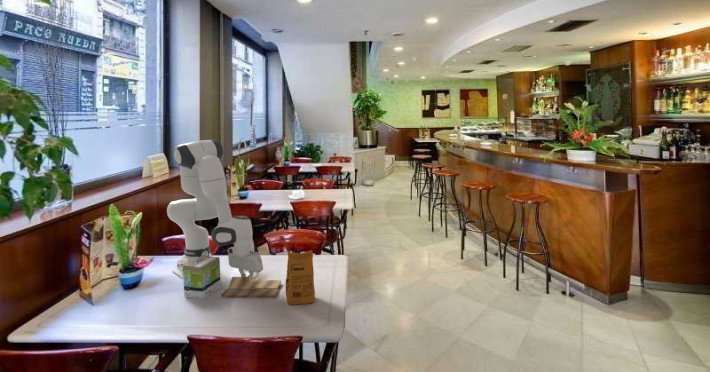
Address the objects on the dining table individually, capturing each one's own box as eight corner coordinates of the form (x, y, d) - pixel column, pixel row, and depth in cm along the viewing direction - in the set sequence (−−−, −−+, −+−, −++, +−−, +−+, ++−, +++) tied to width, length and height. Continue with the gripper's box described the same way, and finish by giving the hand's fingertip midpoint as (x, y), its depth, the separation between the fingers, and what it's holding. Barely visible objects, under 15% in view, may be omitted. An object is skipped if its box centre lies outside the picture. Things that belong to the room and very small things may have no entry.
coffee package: (285, 297, 186) (284, 249, 183) (313, 294, 189) (312, 247, 185) (286, 306, 177) (284, 256, 173) (315, 304, 179) (314, 254, 175)
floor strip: (221, 297, 186) (220, 295, 186) (226, 291, 193) (226, 288, 193) (274, 297, 185) (274, 295, 185) (278, 291, 192) (278, 289, 192)
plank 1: (228, 290, 194) (227, 288, 193) (232, 278, 201) (232, 276, 200) (251, 290, 194) (251, 288, 193) (255, 278, 201) (255, 276, 200)
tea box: (204, 299, 185) (202, 267, 183) (183, 297, 187) (181, 265, 185) (221, 286, 199) (219, 256, 197) (202, 284, 201) (200, 254, 199)
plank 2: (253, 290, 194) (253, 288, 193) (258, 282, 201) (258, 280, 201) (277, 290, 193) (277, 288, 193) (281, 282, 201) (280, 280, 201)
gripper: (264, 250, 193) (267, 279, 195) (235, 245, 205) (238, 272, 207) (254, 254, 188) (257, 284, 190) (224, 249, 200) (227, 277, 202)
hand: (247, 278), depth 198 cm, fingers open, 3 cm apart
